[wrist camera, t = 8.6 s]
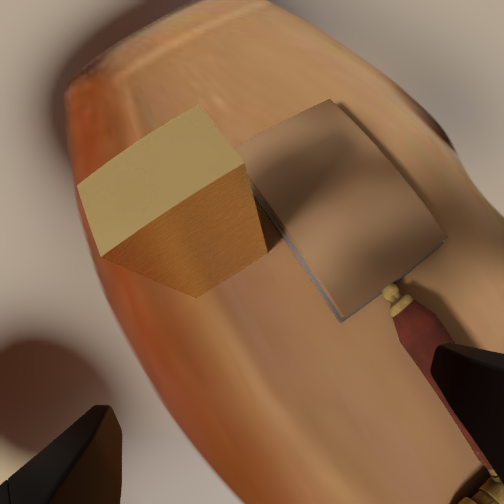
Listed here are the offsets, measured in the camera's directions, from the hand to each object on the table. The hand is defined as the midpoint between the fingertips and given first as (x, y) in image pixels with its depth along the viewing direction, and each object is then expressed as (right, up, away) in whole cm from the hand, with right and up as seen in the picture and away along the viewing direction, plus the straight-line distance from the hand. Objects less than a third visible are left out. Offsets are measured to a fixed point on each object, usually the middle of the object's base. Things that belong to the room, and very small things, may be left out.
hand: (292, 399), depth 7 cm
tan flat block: (+4, +7, +12) cm, 14 cm away
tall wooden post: (-3, +3, +11) cm, 12 cm away
